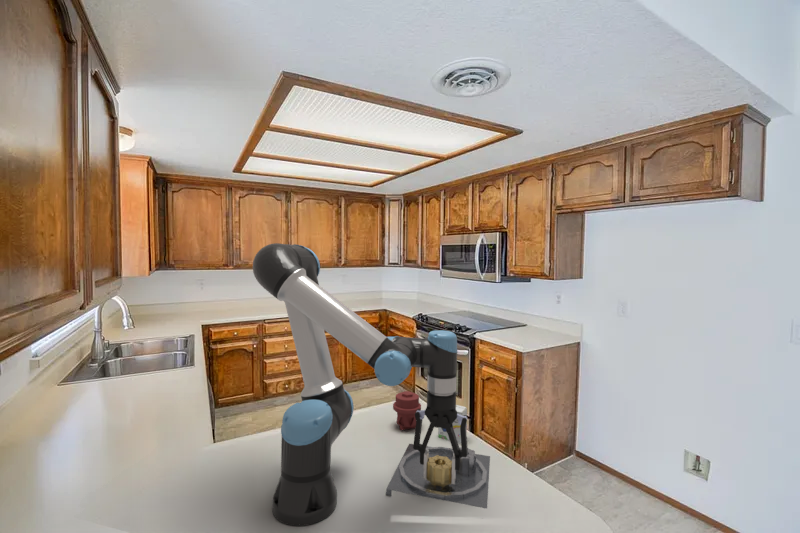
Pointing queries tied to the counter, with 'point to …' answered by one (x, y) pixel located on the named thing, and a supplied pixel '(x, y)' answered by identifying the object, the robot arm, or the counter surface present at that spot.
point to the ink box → (454, 425)
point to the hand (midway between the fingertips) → (439, 478)
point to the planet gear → (439, 470)
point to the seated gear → (467, 463)
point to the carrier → (463, 490)
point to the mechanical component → (406, 409)
